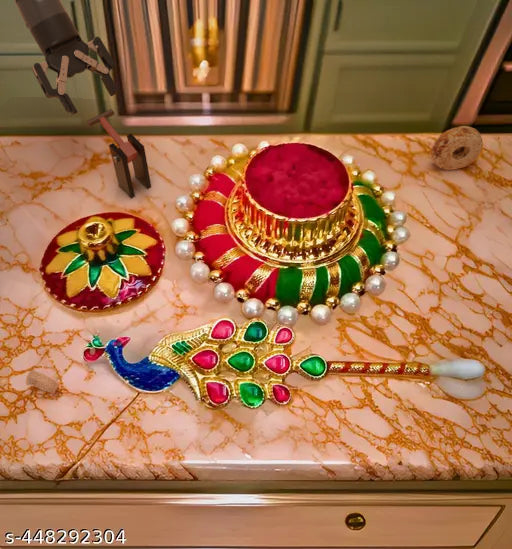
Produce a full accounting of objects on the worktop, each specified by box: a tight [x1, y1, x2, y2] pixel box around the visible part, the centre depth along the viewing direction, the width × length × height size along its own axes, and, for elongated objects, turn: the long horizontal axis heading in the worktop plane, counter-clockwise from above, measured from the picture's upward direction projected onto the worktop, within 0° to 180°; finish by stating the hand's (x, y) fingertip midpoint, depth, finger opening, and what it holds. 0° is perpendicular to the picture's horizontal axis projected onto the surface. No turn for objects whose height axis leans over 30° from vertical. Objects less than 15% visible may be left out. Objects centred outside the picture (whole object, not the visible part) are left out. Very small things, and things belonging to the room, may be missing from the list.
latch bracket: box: [108, 133, 152, 200], centre depth 114 cm, size 11×8×13 cm
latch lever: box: [86, 108, 137, 164], centre depth 111 cm, size 11×6×2 cm, turn 41°
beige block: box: [25, 369, 59, 394], centre depth 93 cm, size 3×5×5 cm, turn 70°
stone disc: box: [430, 125, 484, 171], centre depth 122 cm, size 10×4×10 cm, turn 98°
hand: (94, 104), depth 110 cm, fingers open, 8 cm apart
